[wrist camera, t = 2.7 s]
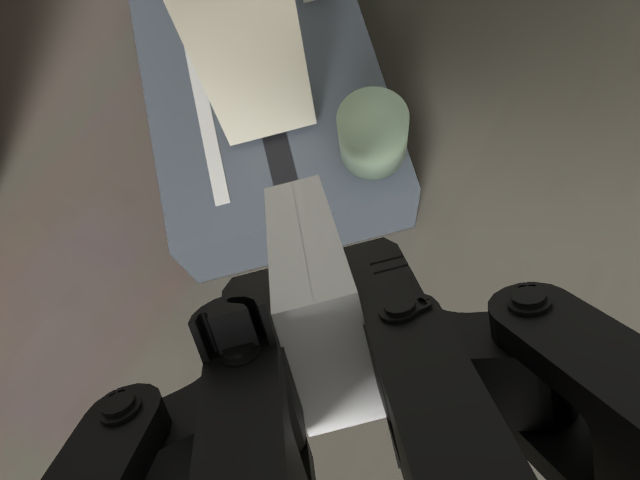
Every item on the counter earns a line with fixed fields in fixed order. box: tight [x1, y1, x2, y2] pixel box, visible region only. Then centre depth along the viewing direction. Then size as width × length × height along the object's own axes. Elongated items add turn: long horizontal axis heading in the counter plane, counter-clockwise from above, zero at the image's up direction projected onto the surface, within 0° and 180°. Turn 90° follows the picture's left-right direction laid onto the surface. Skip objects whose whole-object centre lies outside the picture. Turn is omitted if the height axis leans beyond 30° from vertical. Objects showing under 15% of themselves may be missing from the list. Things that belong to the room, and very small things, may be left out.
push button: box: [336, 86, 410, 180], centre depth 23 cm, size 3×3×2 cm
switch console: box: [129, 0, 421, 283], centre depth 28 cm, size 18×10×5 cm, turn 14°
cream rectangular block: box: [163, 0, 317, 146], centre depth 20 cm, size 2×4×10 cm, turn 104°
